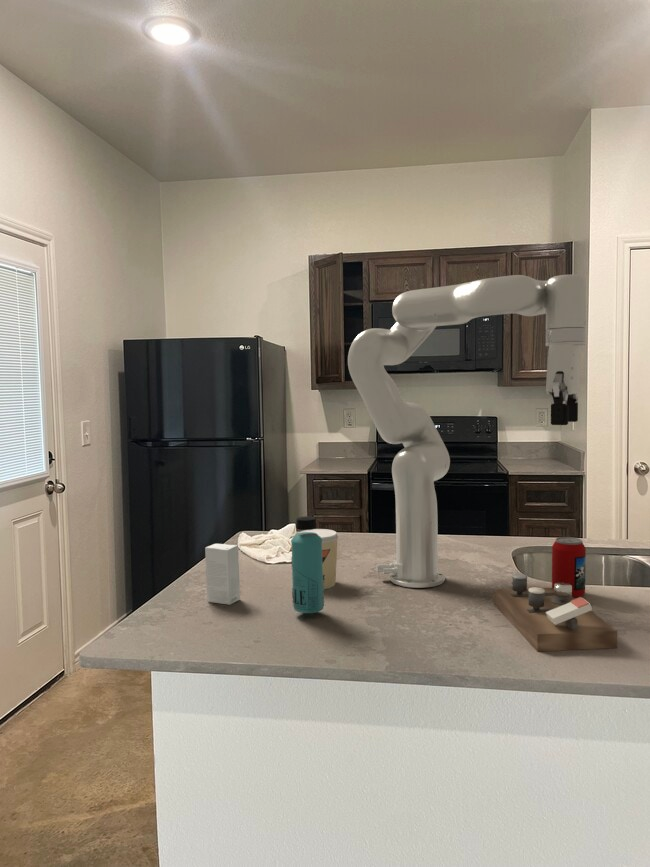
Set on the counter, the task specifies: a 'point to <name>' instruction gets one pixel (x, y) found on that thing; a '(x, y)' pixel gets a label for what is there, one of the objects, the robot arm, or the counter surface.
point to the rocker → (569, 610)
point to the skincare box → (222, 573)
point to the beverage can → (569, 564)
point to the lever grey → (519, 583)
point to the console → (547, 635)
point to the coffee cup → (328, 555)
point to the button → (563, 590)
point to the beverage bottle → (307, 568)
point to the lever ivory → (536, 597)
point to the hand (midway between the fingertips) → (564, 423)
